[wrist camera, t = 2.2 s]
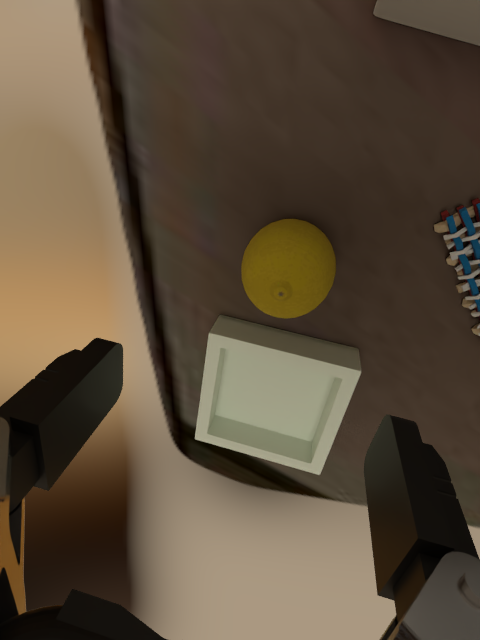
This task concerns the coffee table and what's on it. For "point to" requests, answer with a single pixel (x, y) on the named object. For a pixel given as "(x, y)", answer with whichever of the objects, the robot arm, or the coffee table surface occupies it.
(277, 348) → the tray
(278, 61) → the coffee table surface
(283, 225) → the lemon
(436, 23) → the milk carton
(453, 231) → the woven mat
